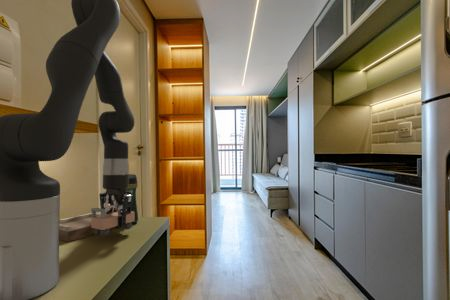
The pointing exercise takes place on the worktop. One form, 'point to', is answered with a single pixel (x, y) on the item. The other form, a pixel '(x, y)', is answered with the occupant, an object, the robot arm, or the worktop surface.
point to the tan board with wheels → (108, 221)
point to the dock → (76, 227)
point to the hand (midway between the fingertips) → (115, 226)
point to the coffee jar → (132, 191)
